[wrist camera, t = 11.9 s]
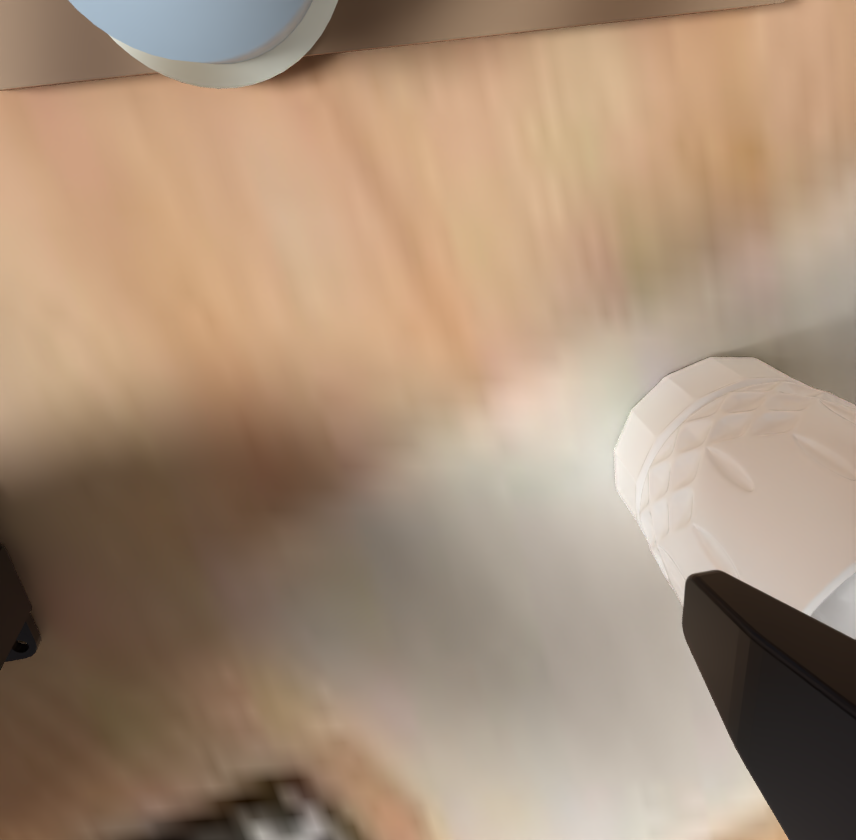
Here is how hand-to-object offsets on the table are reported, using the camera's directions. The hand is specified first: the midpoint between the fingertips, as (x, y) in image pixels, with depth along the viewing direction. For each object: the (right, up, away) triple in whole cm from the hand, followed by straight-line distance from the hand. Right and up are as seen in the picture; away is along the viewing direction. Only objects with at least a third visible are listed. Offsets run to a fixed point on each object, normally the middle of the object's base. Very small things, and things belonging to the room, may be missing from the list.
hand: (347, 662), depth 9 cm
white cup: (+10, +2, +16) cm, 19 cm away
